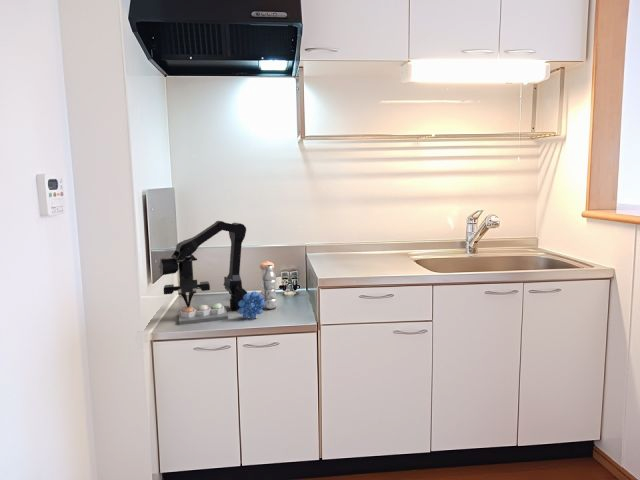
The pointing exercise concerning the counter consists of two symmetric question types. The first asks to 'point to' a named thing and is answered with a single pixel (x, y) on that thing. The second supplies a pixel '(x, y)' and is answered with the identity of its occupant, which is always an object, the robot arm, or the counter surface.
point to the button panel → (202, 316)
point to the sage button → (217, 306)
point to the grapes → (251, 305)
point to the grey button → (202, 308)
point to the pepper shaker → (263, 273)
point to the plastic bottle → (269, 287)
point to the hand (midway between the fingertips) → (188, 307)
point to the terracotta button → (188, 309)
